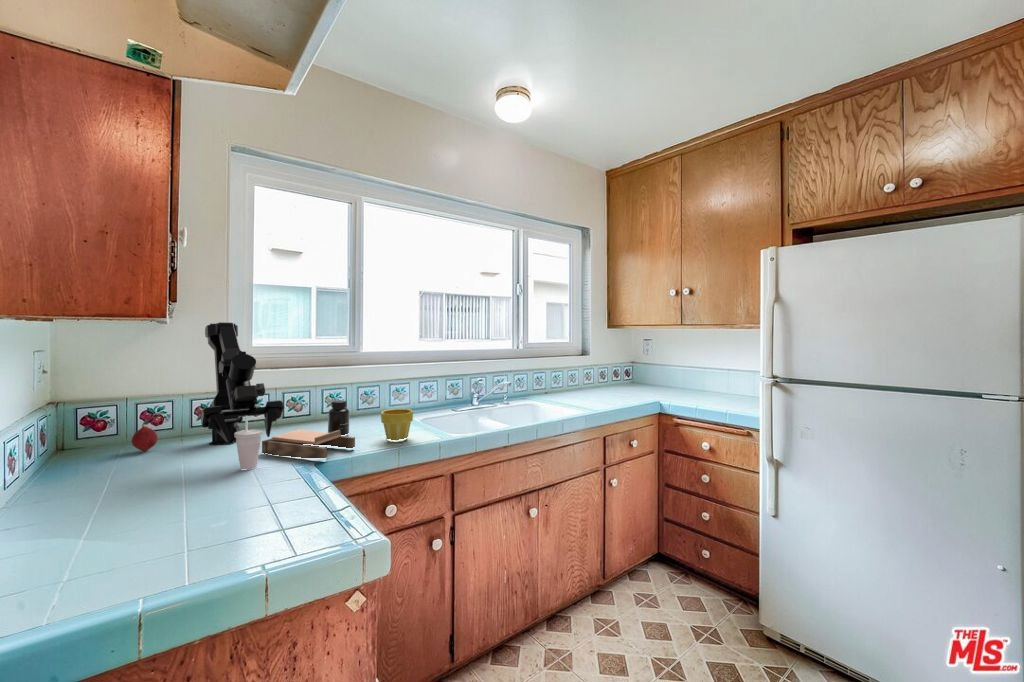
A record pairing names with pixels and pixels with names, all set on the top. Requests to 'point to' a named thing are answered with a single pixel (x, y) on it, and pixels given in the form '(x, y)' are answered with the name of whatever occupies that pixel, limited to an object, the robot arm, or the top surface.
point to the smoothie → (248, 446)
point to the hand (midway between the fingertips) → (249, 439)
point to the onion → (144, 438)
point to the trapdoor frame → (304, 447)
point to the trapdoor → (307, 437)
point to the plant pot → (397, 423)
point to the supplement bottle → (338, 417)
